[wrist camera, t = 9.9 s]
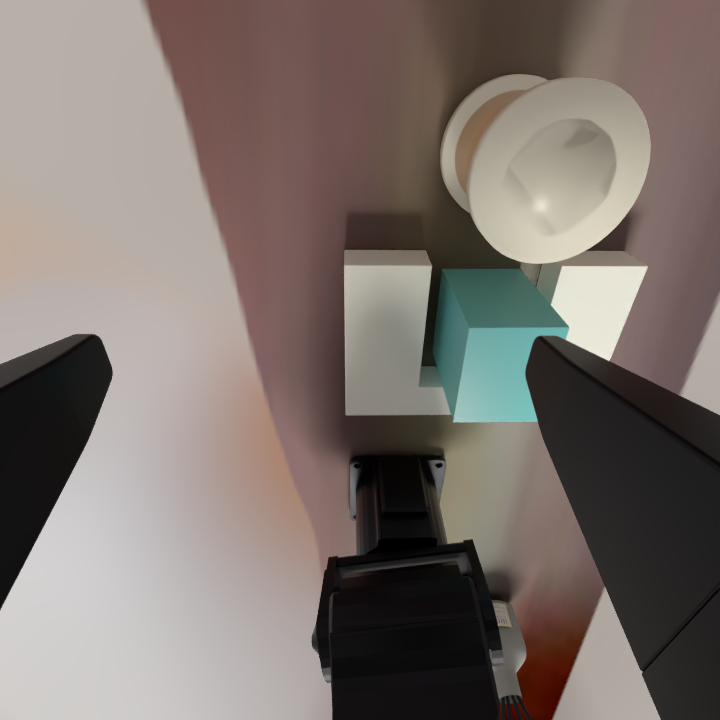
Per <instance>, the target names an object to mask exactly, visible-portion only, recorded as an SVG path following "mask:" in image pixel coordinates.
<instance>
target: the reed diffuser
mask: <svg viewBox="0 0 720 720" xmlns="http://www.w3.org/2000/svg"><path fill="white" fill-rule="evenodd" d="M492 603H493V606H494V610H495V614H496V618H497V623H498V628H499V633H500V638H501V643H502V650H503V658H504V664H503V665H501V666H492V668H493V672H494V677H495V682H496V687H497V692H498V697H499V701H500V702H501V703H502V720H505V704H507V710H508V717H509V720H512V714H511V708H510V704H512V703H513V704H514V707H515V710H516V713H517V716H518V719H519V720H522V717H521V714H520V711H519V708H518V705H517V702H519V703H520V705H521V707H522V709H523V711H524V713H525V715H526V717H527V719H528V720H532V719H531V718H530V716H529V714H528V712H527V710H526V708H525V706H524V704H523V702H522V696H521V692H520V688H519V684H518V680H517V676H516V672H517V671H518V670H519V668H520V667H521V666H522V664H523V663H524V661H525V658H526V647H525V643H524V639H523V636H522V633H521V630H520V627H519V624H518V622H517V619H516V616H515V613H514V610H513V608H512V606H511V605H510V604H509V603H507V602H504V601H500V600H492Z"/></svg>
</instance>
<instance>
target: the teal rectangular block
mask: <svg viewBox="0 0 720 720" xmlns="http://www.w3.org/2000/svg"><path fill="white" fill-rule="evenodd" d="M569 328H570V327H569V326H568V325H567V324H566V323H565V321H564V320H563V319H562V318H561V317H560V315H559V314H558V313H557V312H556V311H555V309H554V308H553V307H552V306H551V305H550V304H549V302H548V301H547V300H546V299H545V298H544V296H543V295H542V294H541V293H540V292H539V290H538V289H537V288H536V287H535V286H534V284H533V283H532V282H531V281H530V280H529V279H528V277H527V276H526V275H525V274H524V273H523V271H522V270H521V269H442V275H441V283H440V292H439V300H438V308H437V317H436V325H435V333H434V342H433V350H432V352H433V355H434V359H435V362H436V366H437V369H438V372H439V376H440V379H441V383H442V386H443V390H444V393H445V396H446V400H447V403H448V407H449V410H450V413H451V417H452V420H453V422H538V420H537V417H536V413H535V410H534V406H533V403H532V399H531V396H530V392H529V388H528V385H527V381H526V377H525V370H526V365H527V362H528V358H529V355H530V351H531V348H532V344H533V341H534V340H535V338H536V337H537V336H541V335H555V336H559V337H561V338H563V339H565V340H566V337H567V334H568V331H569Z"/></svg>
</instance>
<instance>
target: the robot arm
mask: <svg viewBox="0 0 720 720" xmlns="http://www.w3.org/2000/svg"><path fill="white" fill-rule="evenodd" d="M112 374H113V373H112V367H111V364H110V361H109V358H108V356H107V353H106V350H105V348H104V345H103V342H102V340H101V339H100V337H98V336H97V335H95V334H75V335H72V336H69V337H67V338H64V339H62V340H59V341H57V342H55V343H52V344H49V345H47V346H44V347H42V348H39V349H37V350H34V351H32V352H30V353H27V354H25V355H22V356H20V357H17V358H15V359H12V360H10V361H8V362H5V363H2V364H0V609H1V608H2V606H3V604H4V601H5V600H6V598H7V596H8V594H9V592H10V590H11V588H12V586H13V584H14V582H15V580H16V578H17V577H18V575H19V573H20V571H21V569H22V567H23V565H24V563H25V561H26V559H27V557H28V556H29V554H30V552H31V550H32V548H33V546H34V544H35V542H36V540H37V538H38V536H39V534H40V533H41V531H42V529H43V527H44V525H45V523H46V521H47V519H48V517H49V515H50V513H51V511H52V509H53V507H54V506H55V504H56V502H57V500H58V498H59V496H60V494H61V492H62V490H63V488H64V486H65V484H66V482H67V481H68V479H69V477H70V475H71V473H72V471H73V469H74V467H75V465H76V463H77V461H78V459H79V458H80V455H81V454H82V452H83V450H84V448H85V446H86V444H87V442H88V439H89V437H90V435H91V432H92V430H93V427H94V425H95V422H96V419H97V417H98V414H99V411H100V409H101V406H102V404H103V401H104V398H105V396H106V393H107V390H108V388H109V385H110V382H111V380H112ZM525 377H526V381H527V385H528V388H529V392H530V396H531V399H532V403H533V406H534V410H535V413H536V417H537V420H538V424H539V427H540V431H541V434H542V437H543V440H544V442H545V445H546V447H547V450H548V452H549V454H550V457H551V459H552V461H553V464H554V466H555V469H556V471H557V473H558V476H559V478H560V480H561V483H562V485H563V488H564V490H565V492H566V495H567V497H568V499H569V502H570V504H571V507H572V509H573V511H574V514H575V516H576V518H577V521H578V523H579V526H580V528H581V530H582V533H583V535H584V537H585V540H586V542H587V544H588V547H589V549H590V552H591V554H592V556H593V559H594V561H595V563H596V566H597V568H598V571H599V573H600V575H601V578H602V580H603V582H604V585H605V587H606V589H607V592H608V594H609V597H610V599H611V601H612V604H613V606H614V609H615V611H616V613H617V616H618V618H619V620H620V623H621V625H622V628H623V629H624V632H625V634H626V637H627V639H628V642H629V644H630V646H631V649H632V651H633V653H634V656H635V658H636V660H637V663H638V665H639V668H640V670H641V671H643V673H642V676H643V678H644V681H645V683H646V685H647V688H648V690H649V692H650V695H651V697H652V699H653V702H654V704H655V706H656V709H657V711H658V714H659V716H660V718H661V720H720V415H718V414H716V413H714V412H712V411H710V410H708V409H706V408H704V407H702V406H700V405H698V404H696V403H693V402H691V401H689V400H687V399H685V398H683V397H681V396H679V395H677V394H675V393H673V392H671V391H669V390H667V389H665V388H663V387H661V386H659V385H657V384H655V383H653V382H651V381H649V380H647V379H645V378H643V377H641V376H638V375H636V374H634V373H632V372H630V371H628V370H626V369H624V368H622V367H620V366H618V365H616V364H614V363H612V362H610V361H608V360H606V359H604V358H602V357H600V356H598V355H596V354H594V353H592V352H589V351H587V350H585V349H583V348H581V347H579V346H577V345H575V344H573V343H571V342H569V341H567V340H565V339H563V338H561V337H559V336H555V335H541V336H537V337H536V338H535V340H534V341H533V344H532V348H531V351H530V355H529V358H528V362H527V365H526V370H525ZM357 463H358V464H357ZM437 463H438V464H437ZM445 469H446V461H445V458H444V457H442V456H357V457H353V458H352V459H351V460H350V519H351V520H353V521H356V546H357V555H355V556H347V557H339V558H338V556H334V557H329V558H328V564H327V570H325V573H324V579H323V585H322V591H321V597H320V603H319V609H318V615H317V622H316V625H315V629H314V632H313V634H312V647H313V649H314V650H315V651H316V652H317V653H318V654H319V658H320V662H321V668H322V673H323V676H324V679H325V681H326V682H327V683H331V687H332V707H333V713H332V715H333V717H332V718H333V719H332V720H498V719H499V715H500V701H499V697H498V692H497V687H496V682H495V677H494V672H493V668H492V666H501V665H503V664H504V658H503V650H502V643H501V638H500V633H499V628H498V623H497V618H496V614H495V610H494V606H493V603H492V599H491V596H490V592H489V589H488V586H487V583H486V580H485V577H484V574H483V571H482V567H481V564H480V561H479V558H478V555H477V552H476V549H475V546H474V543H473V540H472V539H471V540H463V542H460V543H451V544H448V543H447V538H446V533H445V528H444V524H443V519H442V514H441V509H440V504H439V503H440V497H441V492H442V486H443V481H444V475H445Z"/></svg>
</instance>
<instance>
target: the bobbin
mask: <svg viewBox="0 0 720 720" xmlns="http://www.w3.org/2000/svg"><path fill="white" fill-rule="evenodd" d="M650 147H651V144H650V133H649V129H648V125H647V121H646V119H645V116H644V114H643V112H642V110H641V108H640V107H639V105H638V104H637V102H636V101H635V100H634V99H633V98H632V97H631V96H630V95H629V94H628V93H627V92H626V91H624V90H623V89H622V88H620V87H618V86H616V85H614V84H612V83H610V82H607V81H603V80H600V79H593V78H581V77H567V78H558V79H554V80H547V79H544V78H542V77H538V76H535V75H526V74H510V75H504V76H500V77H497V78H494V79H492V80H489V81H487V82H486V83H484V84H482V85H480V86H479V87H477V88H476V89H475V90H473V91H472V92H471V93H470V94H469V95H468V96H466V97H465V99H464V100H463V101H462V102H461V103H460V104H459V105H458V107H457V108H456V110H455V111H454V113H453V114H452V116H451V118H450V120H449V122H448V124H447V126H446V129H445V131H444V134H443V138H442V142H441V148H440V169H441V173H442V178H443V180H444V183H445V185H446V187H447V189H448V191H449V193H450V194H451V196H452V197H453V198H454V200H455V201H456V202H457V203H458V204H459V205H460V206H461V207H462V208H463V209H464V210H466V211H467V212H468V213H470V214H471V217H472V219H473V221H474V223H475V225H476V227H477V228H478V230H479V231H480V233H481V234H482V235H483V236H484V238H485V239H486V240H487V241H488V242H489V244H490V245H491V246H492V247H493V248H495V249H496V250H497V251H499V252H500V253H501V254H503V255H505V256H507V257H509V258H511V259H514V260H517V261H520V262H525V263H534V264H542V263H552V262H557V261H561V260H565V259H568V258H571V257H573V256H575V255H578V254H580V253H582V252H584V251H586V250H587V249H589V248H591V247H592V246H594V245H595V244H597V243H598V242H600V241H601V240H602V239H603V238H605V237H606V236H607V235H608V234H609V233H610V232H611V231H612V230H613V229H614V228H615V227H616V226H617V225H618V224H619V223H620V222H621V221H622V220H623V218H624V217H625V216H626V215H627V213H628V212H629V210H630V209H631V207H632V206H633V204H634V202H635V201H636V199H637V197H638V195H639V193H640V191H641V188H642V186H643V184H644V181H645V178H646V174H647V171H648V166H649V160H650Z"/></svg>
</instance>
